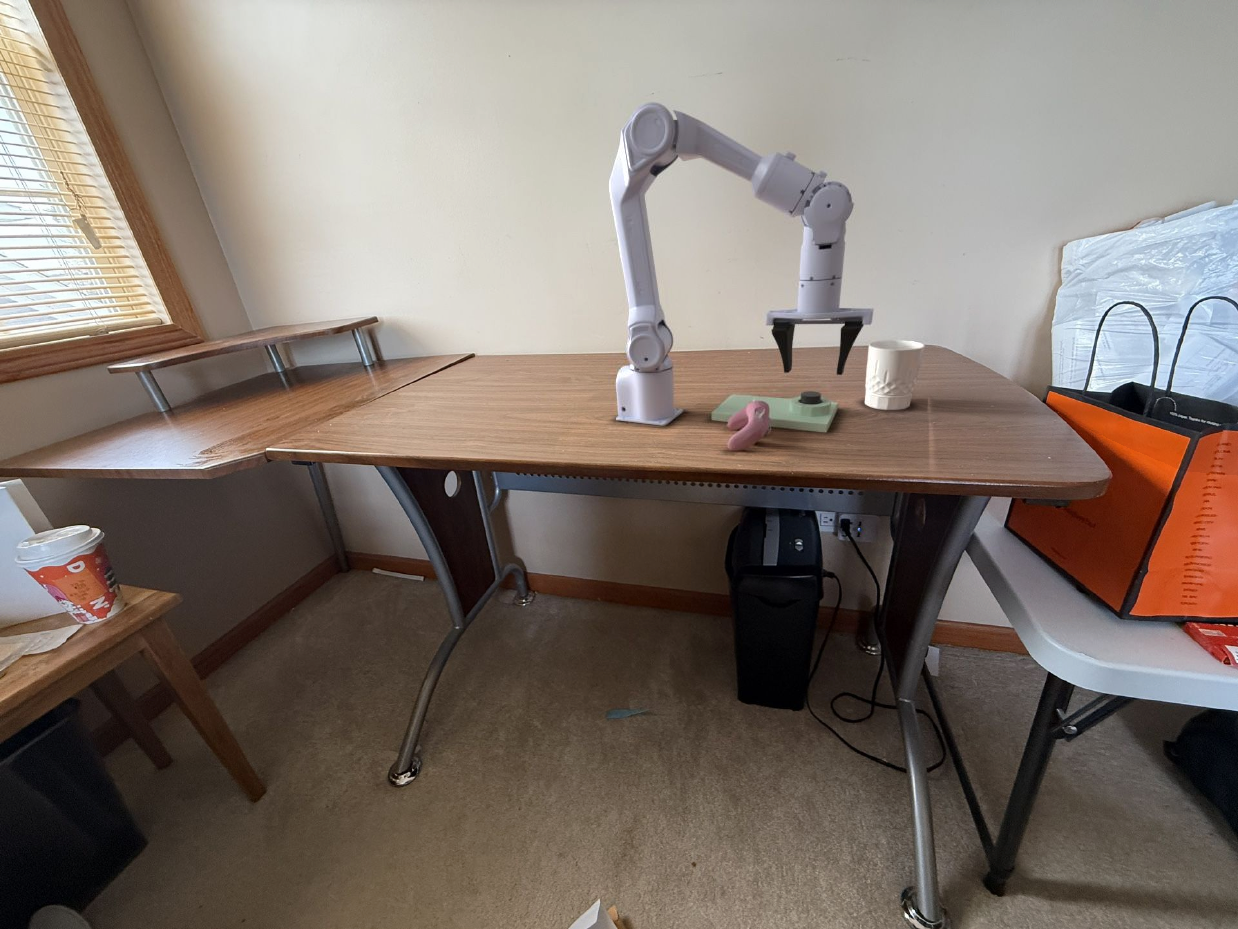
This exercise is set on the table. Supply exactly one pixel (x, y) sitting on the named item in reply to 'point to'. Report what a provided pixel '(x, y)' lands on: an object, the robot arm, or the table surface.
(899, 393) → the white cup
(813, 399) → the button
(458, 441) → the table surface
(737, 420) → the video game controller
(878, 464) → the table surface
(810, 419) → the scale
